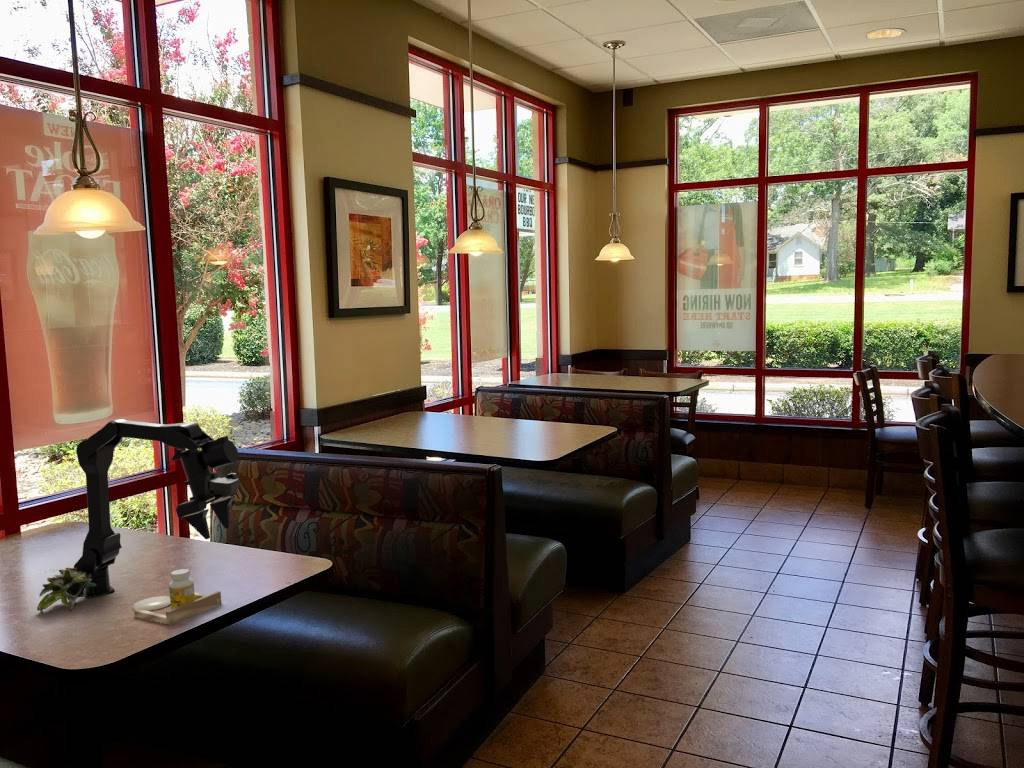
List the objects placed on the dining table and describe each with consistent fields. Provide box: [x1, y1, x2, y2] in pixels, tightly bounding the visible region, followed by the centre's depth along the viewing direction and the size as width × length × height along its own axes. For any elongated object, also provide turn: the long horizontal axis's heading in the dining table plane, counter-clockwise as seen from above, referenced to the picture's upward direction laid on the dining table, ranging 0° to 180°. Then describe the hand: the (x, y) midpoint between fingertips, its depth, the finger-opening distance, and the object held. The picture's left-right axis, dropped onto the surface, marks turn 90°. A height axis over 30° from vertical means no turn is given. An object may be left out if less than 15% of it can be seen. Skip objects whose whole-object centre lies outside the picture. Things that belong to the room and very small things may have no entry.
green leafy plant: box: [36, 567, 96, 613], centre depth 199 cm, size 11×11×12 cm
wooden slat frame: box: [133, 590, 222, 626], centre depth 194 cm, size 12×14×3 cm
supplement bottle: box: [168, 568, 195, 610], centre depth 192 cm, size 5×5×10 cm
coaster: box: [132, 595, 171, 612], centre depth 198 cm, size 9×9×1 cm
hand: (217, 533), depth 202 cm, fingers open, 9 cm apart
